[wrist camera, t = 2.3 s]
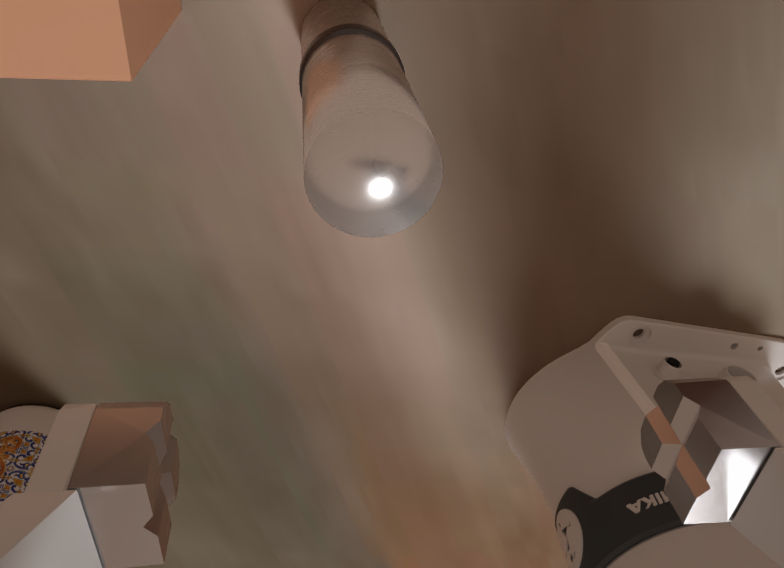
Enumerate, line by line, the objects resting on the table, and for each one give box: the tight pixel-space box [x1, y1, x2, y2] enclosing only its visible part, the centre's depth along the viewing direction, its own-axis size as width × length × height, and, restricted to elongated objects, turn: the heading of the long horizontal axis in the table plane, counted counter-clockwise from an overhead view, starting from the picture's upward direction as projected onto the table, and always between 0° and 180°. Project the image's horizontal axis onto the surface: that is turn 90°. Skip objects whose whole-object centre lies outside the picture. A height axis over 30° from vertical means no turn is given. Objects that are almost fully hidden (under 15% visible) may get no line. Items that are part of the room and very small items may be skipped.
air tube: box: [299, 0, 443, 237], centre depth 25 cm, size 4×4×16 cm
